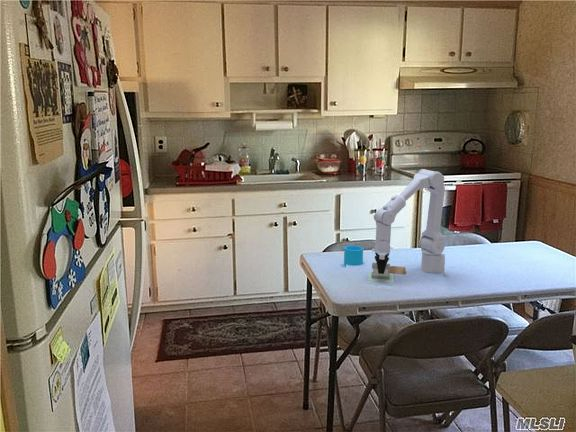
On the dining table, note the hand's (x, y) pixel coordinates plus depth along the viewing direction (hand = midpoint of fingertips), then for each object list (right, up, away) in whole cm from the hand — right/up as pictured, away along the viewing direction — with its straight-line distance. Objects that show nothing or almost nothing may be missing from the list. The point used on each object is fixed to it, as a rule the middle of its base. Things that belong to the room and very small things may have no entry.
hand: (381, 271), depth 207 cm
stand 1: (0, -4, +1) cm, 4 cm away
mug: (-9, +1, +21) cm, 23 cm away
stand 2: (+7, -2, +10) cm, 13 cm away
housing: (0, -2, +1) cm, 2 cm away
